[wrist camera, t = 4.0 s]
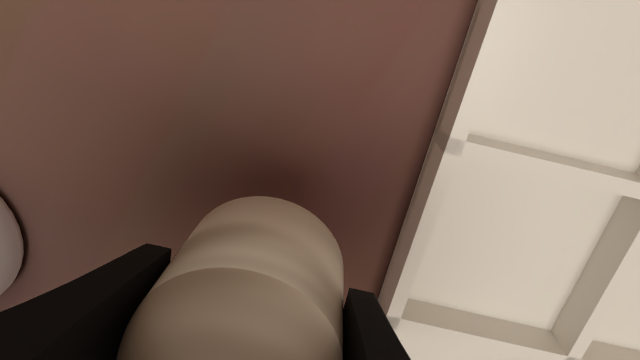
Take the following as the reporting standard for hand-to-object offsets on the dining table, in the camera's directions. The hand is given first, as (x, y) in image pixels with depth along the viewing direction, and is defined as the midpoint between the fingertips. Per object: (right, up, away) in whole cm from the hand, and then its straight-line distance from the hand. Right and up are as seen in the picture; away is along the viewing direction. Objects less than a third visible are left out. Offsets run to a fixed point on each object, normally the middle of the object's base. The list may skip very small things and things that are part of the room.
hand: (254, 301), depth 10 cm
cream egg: (0, +1, +1) cm, 1 cm away
